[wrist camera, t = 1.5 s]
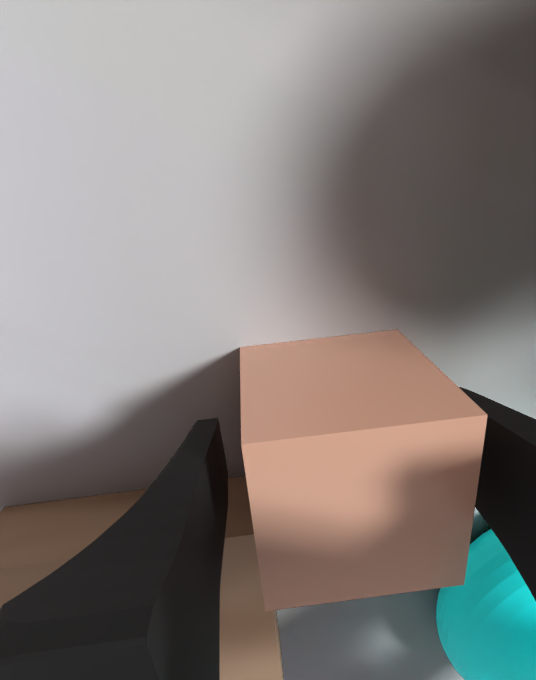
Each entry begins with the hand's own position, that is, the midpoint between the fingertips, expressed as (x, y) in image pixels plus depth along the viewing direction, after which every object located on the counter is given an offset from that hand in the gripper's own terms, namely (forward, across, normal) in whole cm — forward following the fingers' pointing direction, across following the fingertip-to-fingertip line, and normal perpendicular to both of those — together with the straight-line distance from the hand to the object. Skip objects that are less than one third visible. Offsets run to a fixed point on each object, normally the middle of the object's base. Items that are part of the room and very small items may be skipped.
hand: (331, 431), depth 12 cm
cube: (+2, 0, 0) cm, 2 cm away
